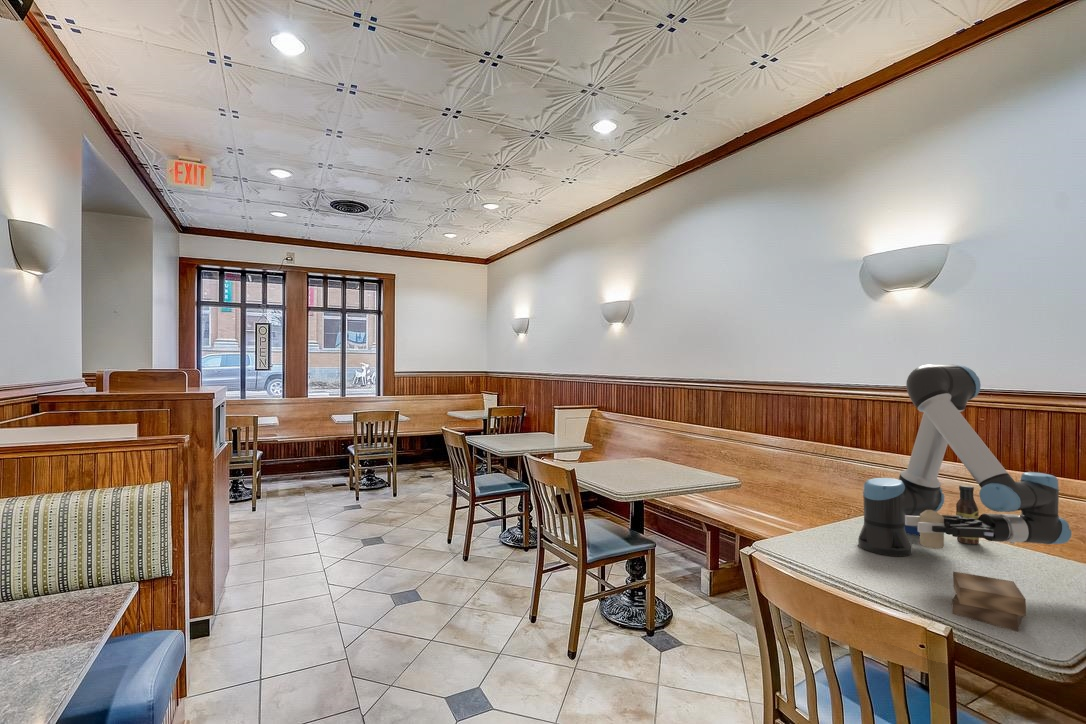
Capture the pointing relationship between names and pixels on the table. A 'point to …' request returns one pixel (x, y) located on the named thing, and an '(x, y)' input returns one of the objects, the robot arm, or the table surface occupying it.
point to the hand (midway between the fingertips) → (912, 523)
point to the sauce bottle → (967, 510)
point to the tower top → (989, 593)
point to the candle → (932, 538)
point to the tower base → (987, 615)
